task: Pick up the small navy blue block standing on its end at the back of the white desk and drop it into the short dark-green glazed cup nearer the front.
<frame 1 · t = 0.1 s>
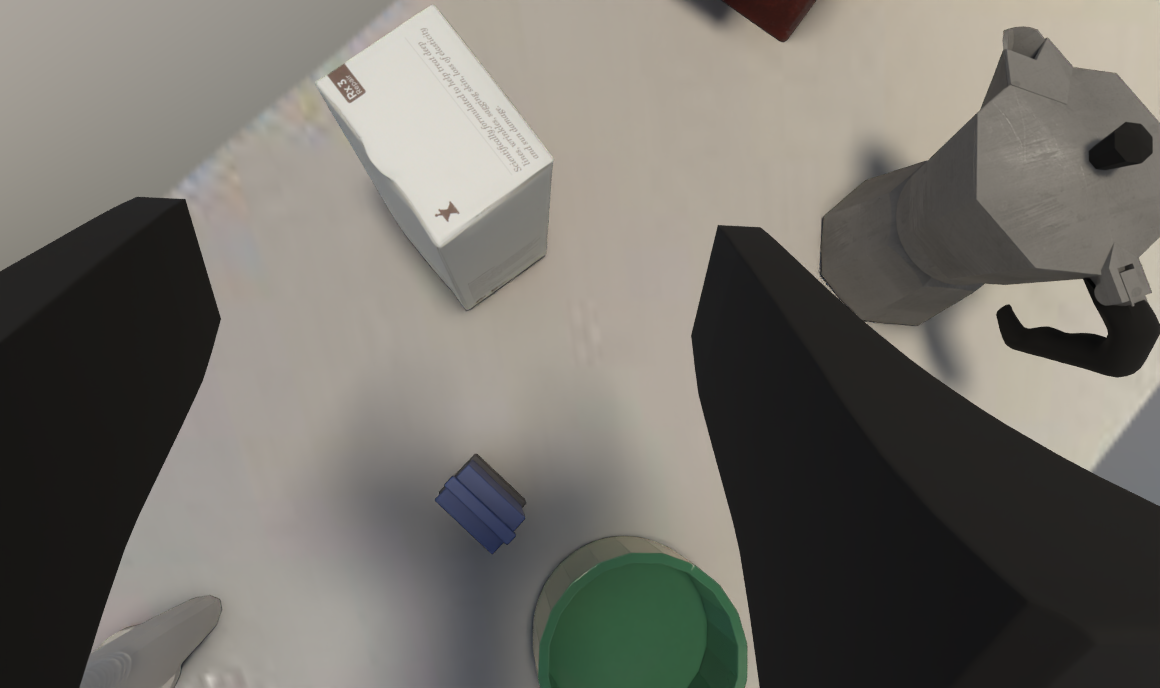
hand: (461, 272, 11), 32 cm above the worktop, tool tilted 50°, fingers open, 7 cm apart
cup: (623, 628, 41), on the worktop
coffeepot: (893, 271, 46), on the worktop
tall pale column: (142, 664, 39), on the worktop
cosmetic box: (461, 228, 43), on the worktop
blue block: (483, 495, 41), on the worktop
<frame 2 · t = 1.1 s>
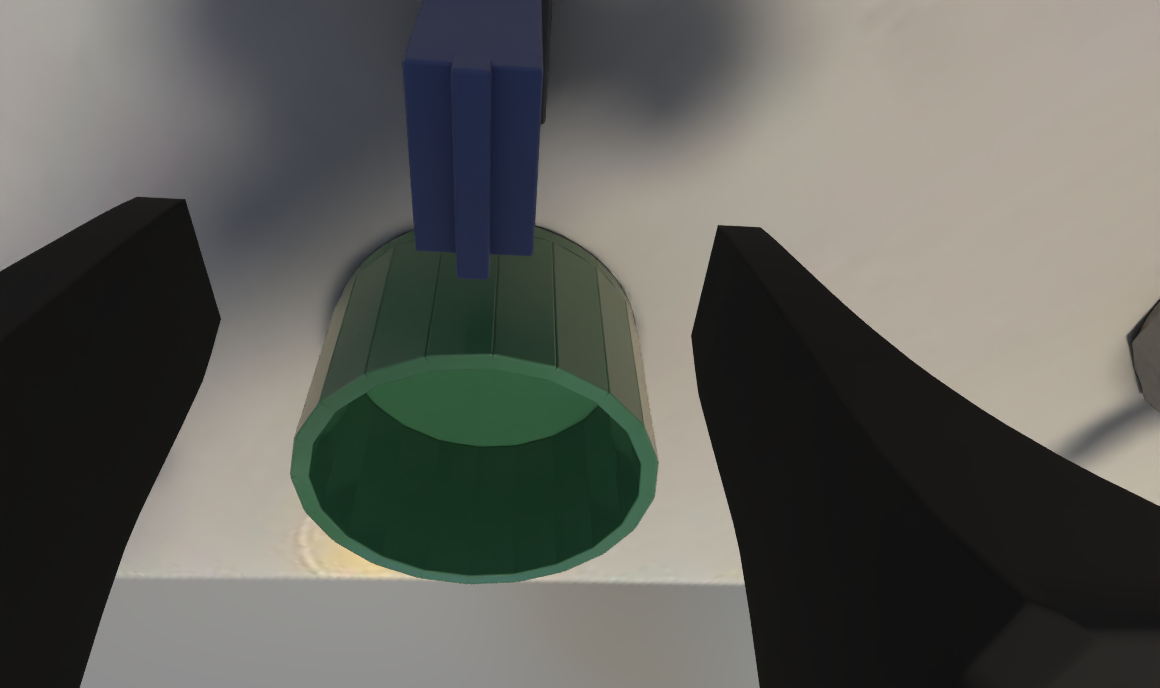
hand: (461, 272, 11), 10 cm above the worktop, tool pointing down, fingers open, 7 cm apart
cup: (487, 344, 25), on the worktop
blue block: (491, 20, 18), on the worktop
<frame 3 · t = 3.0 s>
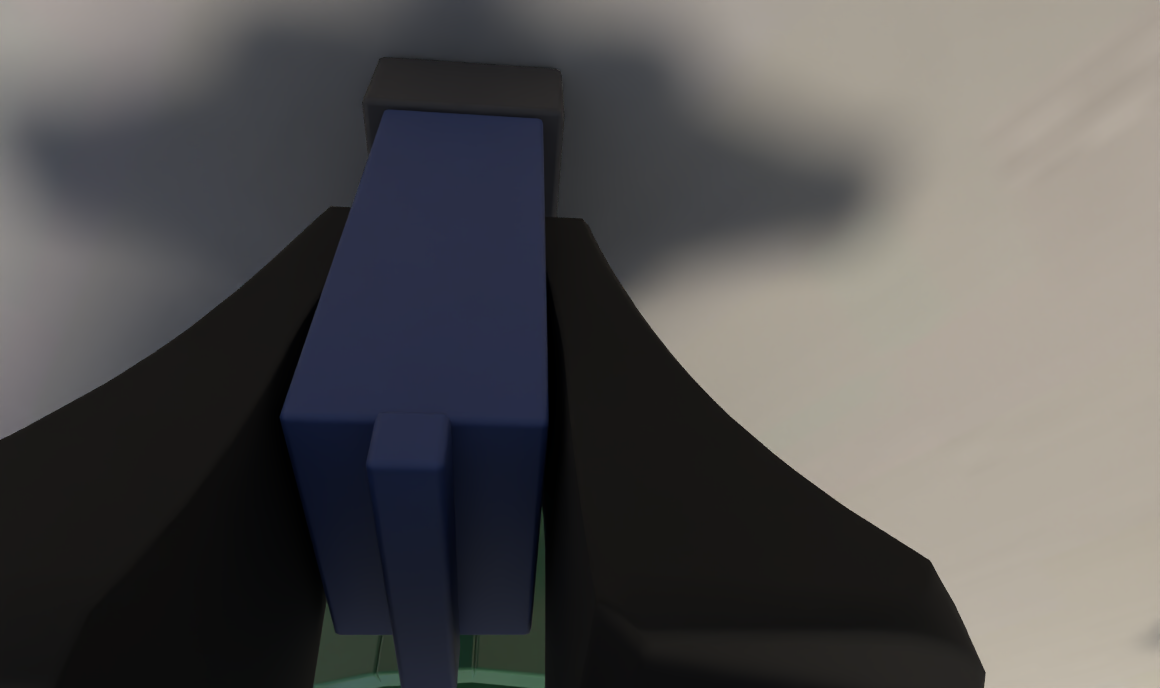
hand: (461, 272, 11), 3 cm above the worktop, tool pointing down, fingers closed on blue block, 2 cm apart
cup: (475, 533, 20), on the worktop
blue block: (472, 171, 13), on the worktop, touching gripper
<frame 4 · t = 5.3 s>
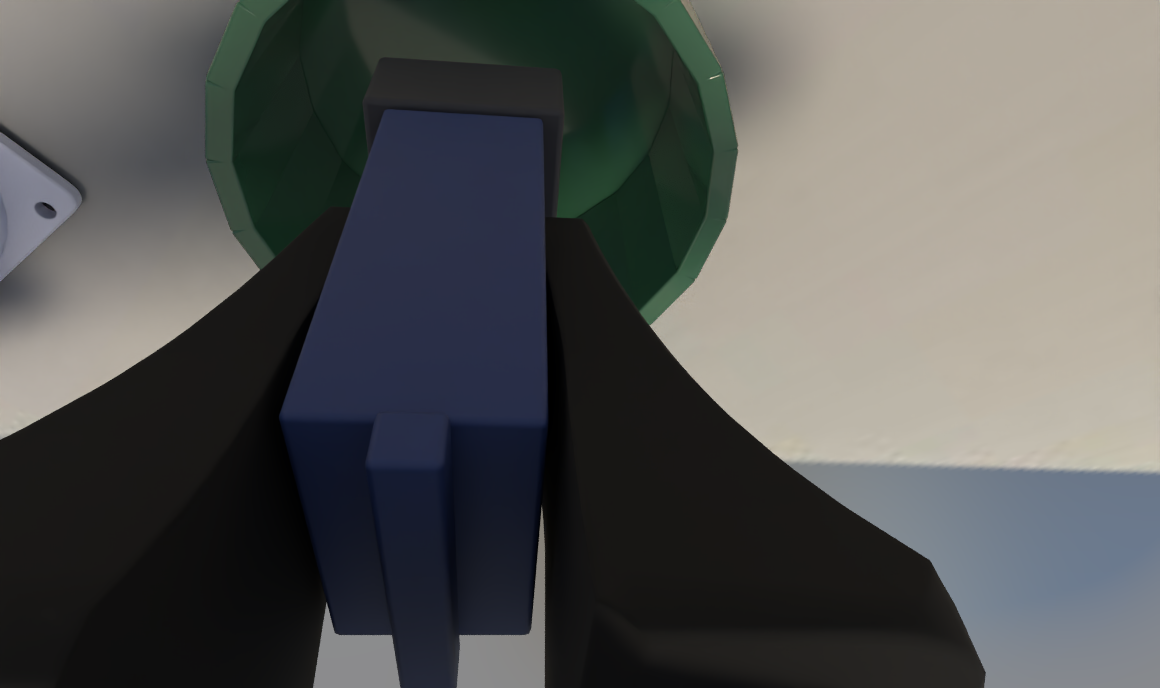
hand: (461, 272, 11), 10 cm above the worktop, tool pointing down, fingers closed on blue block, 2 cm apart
cup: (491, 70, 19), on the worktop
blue block: (472, 171, 13), point 7 cm above the worktop, touching gripper
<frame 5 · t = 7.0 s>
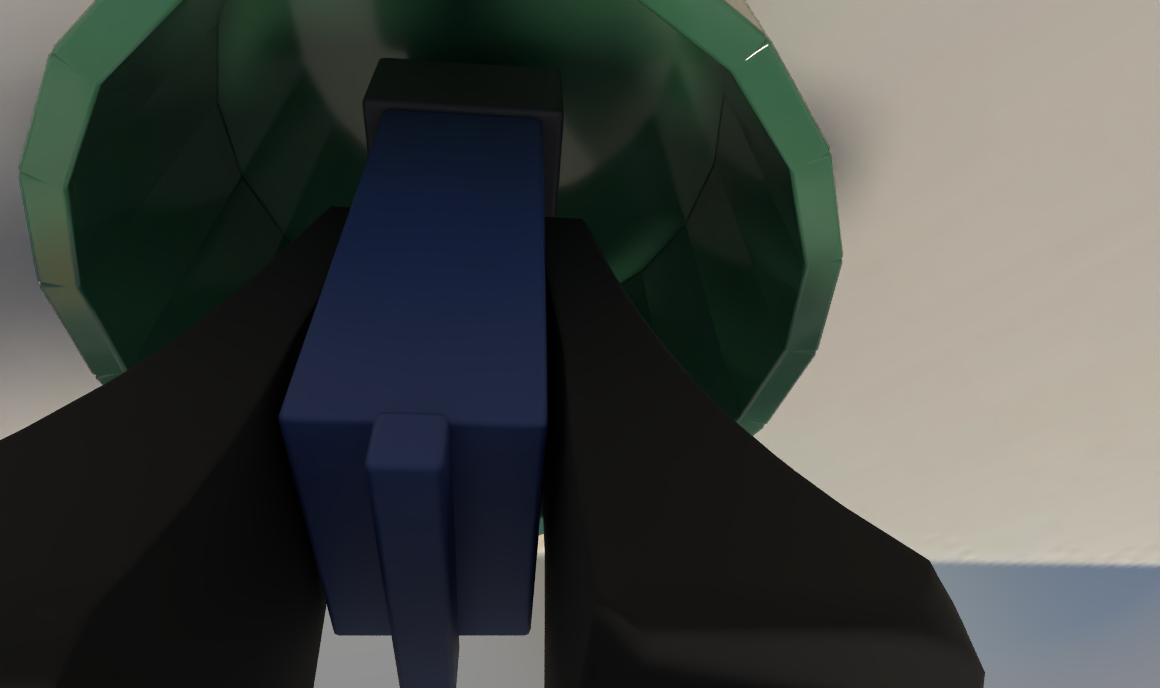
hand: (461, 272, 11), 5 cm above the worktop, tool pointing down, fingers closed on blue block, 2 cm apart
cup: (478, 119, 14), on the worktop
blue block: (472, 171, 13), point 2 cm above the worktop, touching gripper
when the fingers open (5 cm above the worktop, at t = 8.5 s): blue block stays where it is, resting on cup.
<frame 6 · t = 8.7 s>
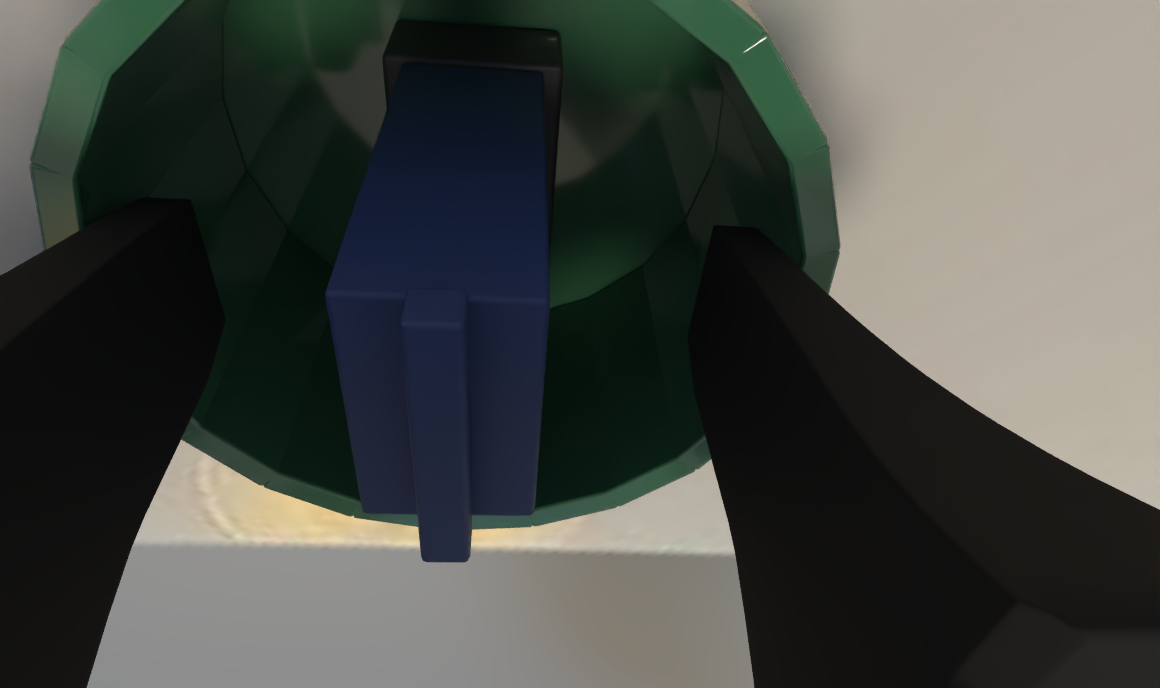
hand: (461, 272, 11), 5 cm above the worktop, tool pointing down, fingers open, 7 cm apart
cup: (481, 114, 15), on the worktop
blue block: (479, 128, 14), point 1 cm above the worktop, touching cup
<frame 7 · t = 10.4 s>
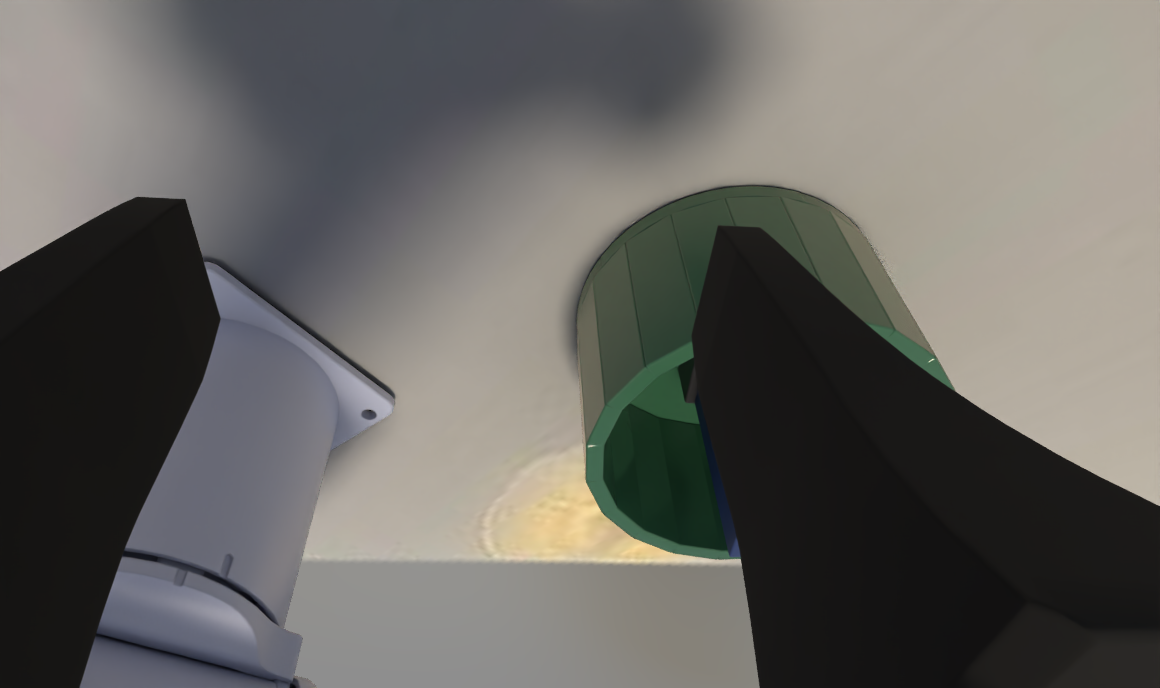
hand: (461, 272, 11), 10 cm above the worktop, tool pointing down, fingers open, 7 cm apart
cup: (725, 318, 25), on the worktop
blue block: (729, 329, 25), point 1 cm above the worktop, touching cup
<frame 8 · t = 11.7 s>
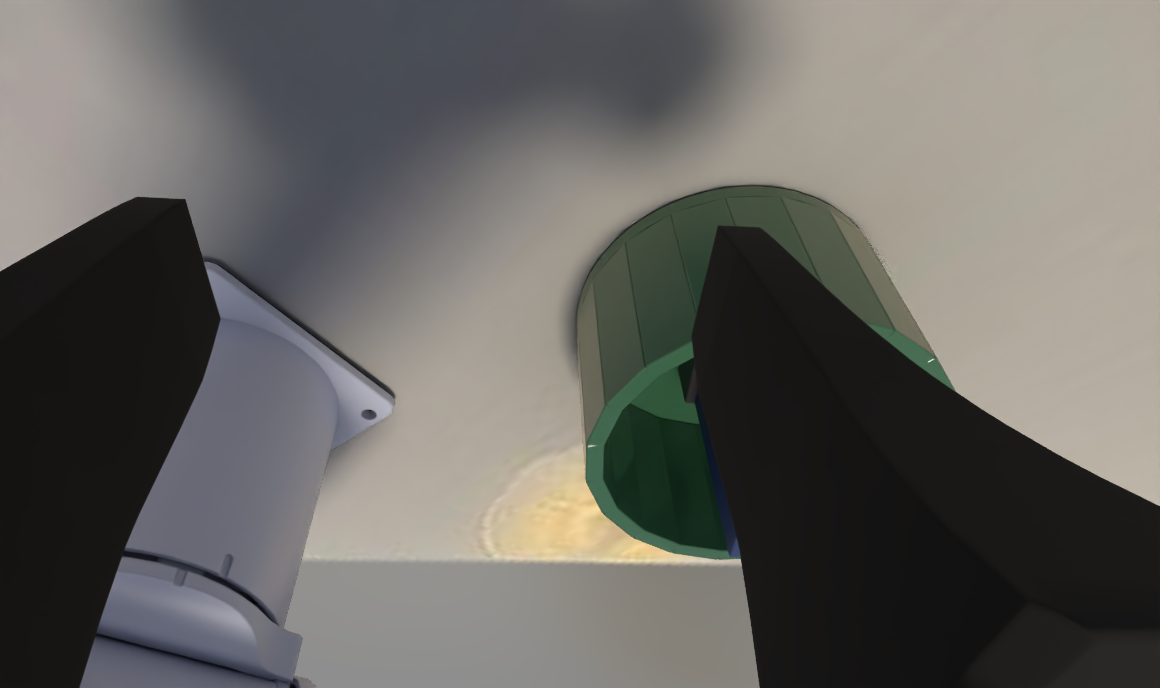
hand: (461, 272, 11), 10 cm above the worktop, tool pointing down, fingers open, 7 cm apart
cup: (725, 318, 25), on the worktop
blue block: (729, 329, 25), point 1 cm above the worktop, touching cup
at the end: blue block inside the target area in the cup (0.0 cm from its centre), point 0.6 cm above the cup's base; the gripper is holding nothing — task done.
